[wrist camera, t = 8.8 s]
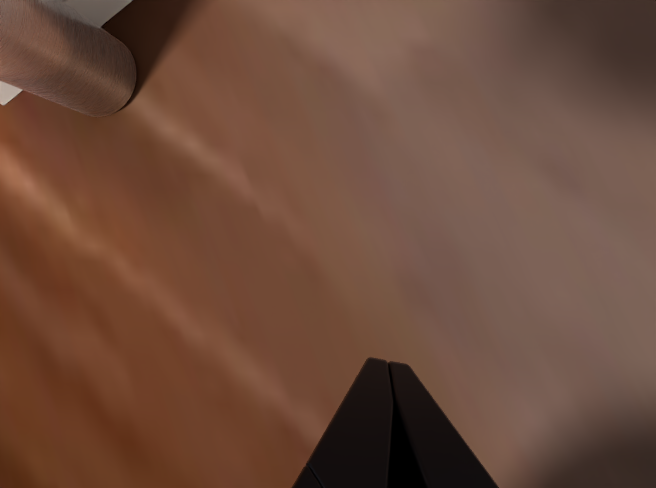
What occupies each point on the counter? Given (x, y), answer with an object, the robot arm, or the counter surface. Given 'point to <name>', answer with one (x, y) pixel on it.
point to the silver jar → (64, 57)
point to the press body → (94, 3)
